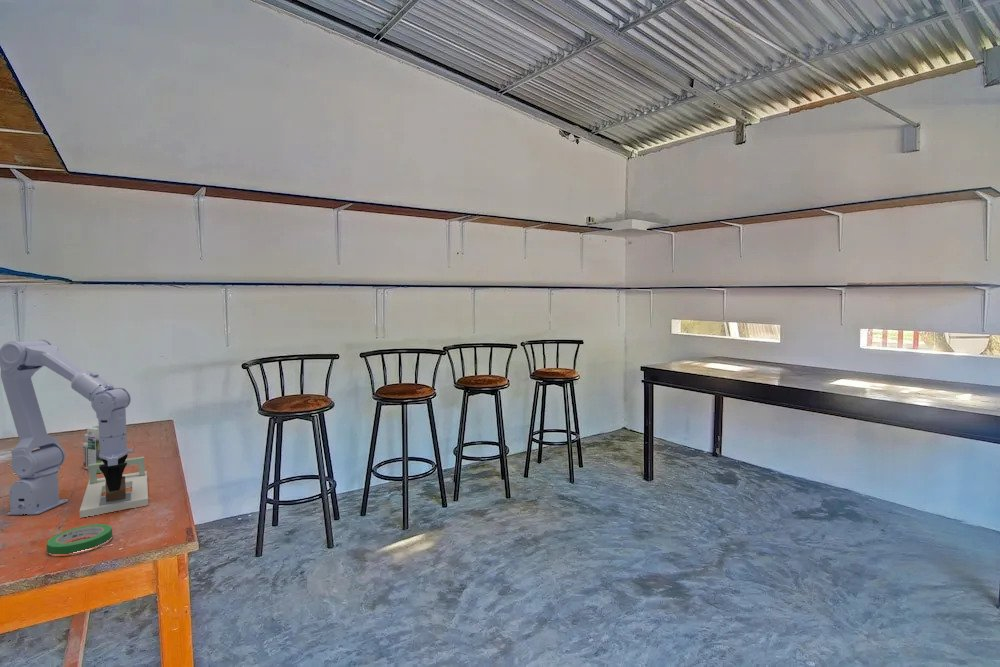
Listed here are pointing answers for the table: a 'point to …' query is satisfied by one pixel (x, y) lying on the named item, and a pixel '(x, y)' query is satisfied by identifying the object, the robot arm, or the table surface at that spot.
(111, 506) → the puzzle board
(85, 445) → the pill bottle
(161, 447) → the table surface
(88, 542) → the tape roll
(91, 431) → the syrup box
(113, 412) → the robot arm
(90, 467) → the sliding bridge
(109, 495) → the walnut block
